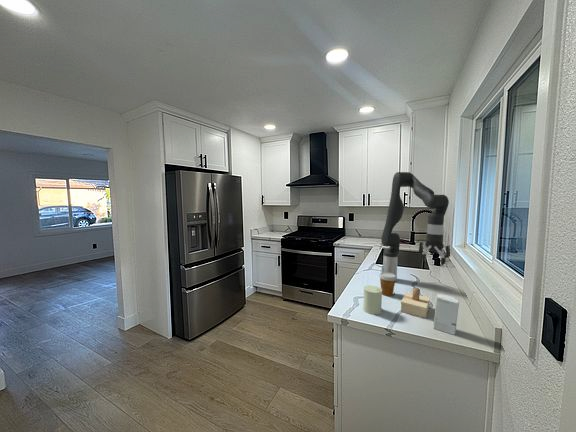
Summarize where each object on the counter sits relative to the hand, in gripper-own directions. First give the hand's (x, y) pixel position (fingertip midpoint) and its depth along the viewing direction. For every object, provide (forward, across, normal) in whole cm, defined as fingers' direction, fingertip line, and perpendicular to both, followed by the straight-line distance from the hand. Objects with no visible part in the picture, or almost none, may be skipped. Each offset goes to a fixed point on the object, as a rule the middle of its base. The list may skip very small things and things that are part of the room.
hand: (433, 262), depth 126 cm
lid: (+20, -4, -10) cm, 22 cm away
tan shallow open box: (+24, -4, -10) cm, 26 cm away
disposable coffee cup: (+24, -23, -3) cm, 34 cm away
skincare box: (+24, +12, -19) cm, 33 cm away
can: (+24, -18, -28) cm, 41 cm away
